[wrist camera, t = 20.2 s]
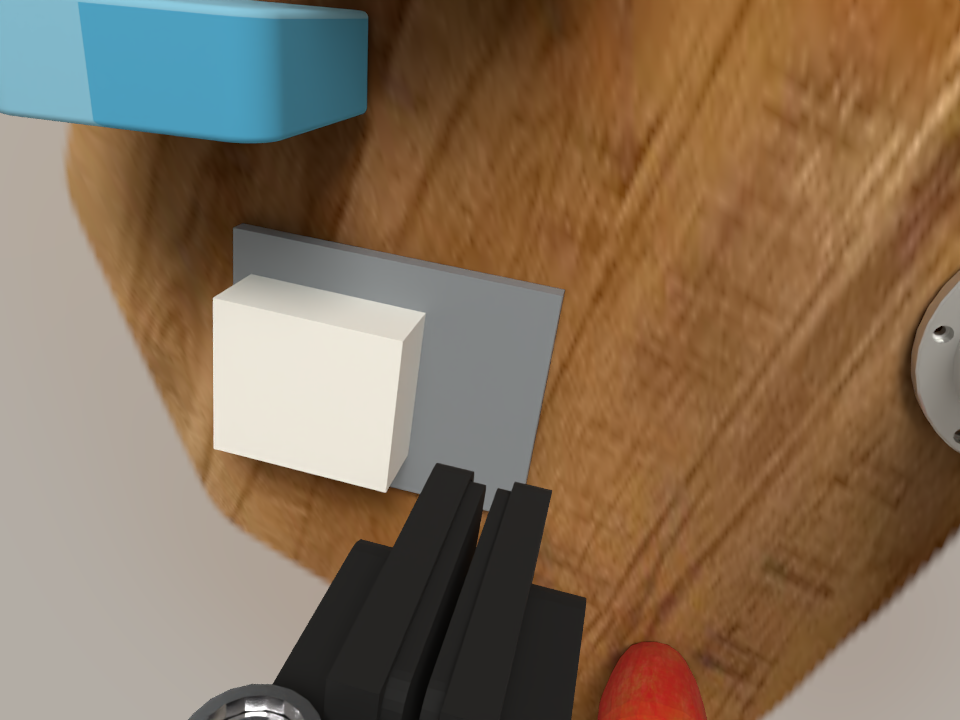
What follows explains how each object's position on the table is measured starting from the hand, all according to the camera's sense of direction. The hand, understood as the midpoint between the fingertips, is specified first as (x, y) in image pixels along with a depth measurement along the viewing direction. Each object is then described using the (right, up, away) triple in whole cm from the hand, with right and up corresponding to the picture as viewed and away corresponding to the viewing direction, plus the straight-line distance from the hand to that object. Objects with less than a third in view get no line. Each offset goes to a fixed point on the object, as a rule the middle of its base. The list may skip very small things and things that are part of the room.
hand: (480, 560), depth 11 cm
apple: (+11, -16, +38) cm, 42 cm away
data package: (-11, +18, +27) cm, 35 cm away
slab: (-4, +1, +30) cm, 30 cm away
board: (-5, +2, +33) cm, 33 cm away
